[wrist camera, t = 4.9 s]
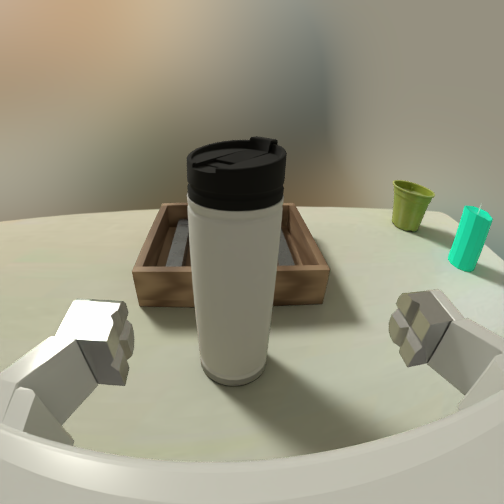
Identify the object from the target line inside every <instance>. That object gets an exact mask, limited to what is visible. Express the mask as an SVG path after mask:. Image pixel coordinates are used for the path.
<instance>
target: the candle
mask: <svg viewBox="0 0 504 504" xmlns="http://www.w3.org/2000/svg"><path fill="white" fill-rule="evenodd" d="M480 208H481V205H480ZM480 208H477V207H474V206H465V207H464V210H463V213H462V217H461V220H460V223H459V226H458V229H457V233H456V236H455V239H454V241H453V244H452V247H451V250H450V253H449V255H448V260H449V261H450V263H451V264H452V265H454V266H455V267H456V268H458V269H460V270H463V271H467V272H471V271H473V270H474V268H475V266H476V263H477V261H478V259H479V256H480V253H481V251H482V248H483V246H484V243H485V240H486V237H487V234H488V232H489V229H490V226H491V223H492V220H493V219H492V218H491V216H490V215H489V213H488V212H486V211H484V210H482V209H480Z"/></svg>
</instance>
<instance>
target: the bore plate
mask: <svg viewBox="0 0 504 504" xmlns="http://www.w3.org/2000/svg"><path fill="white" fill-rule="evenodd" d="M188 248H189V226H188V219H179V222H178V225H177V228H176V232H175V235H174V238H173V242H172V245H171V249H170V252H169V256H168V259H167V263H166V267H185V264H186V259H187V253H188ZM294 265H295V264H294V261H293V258H292V256H291V253H290V250H289V248H288V245H287V242H286V240H285V237H284V235H283V232H282V229H281V232H280V242H279V252H278V262H277V266H294Z"/></svg>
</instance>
